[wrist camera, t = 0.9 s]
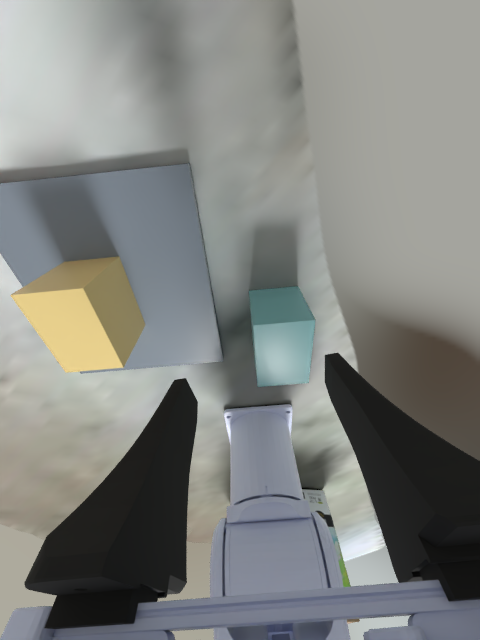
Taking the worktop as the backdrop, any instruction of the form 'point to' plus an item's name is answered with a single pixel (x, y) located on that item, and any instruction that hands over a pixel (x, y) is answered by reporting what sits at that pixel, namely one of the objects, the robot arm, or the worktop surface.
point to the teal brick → (281, 336)
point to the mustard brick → (84, 313)
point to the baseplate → (123, 250)
